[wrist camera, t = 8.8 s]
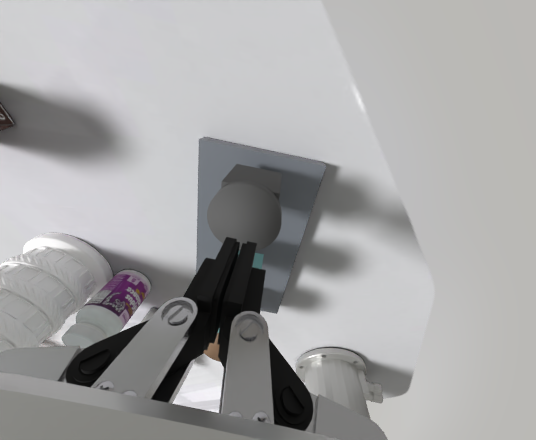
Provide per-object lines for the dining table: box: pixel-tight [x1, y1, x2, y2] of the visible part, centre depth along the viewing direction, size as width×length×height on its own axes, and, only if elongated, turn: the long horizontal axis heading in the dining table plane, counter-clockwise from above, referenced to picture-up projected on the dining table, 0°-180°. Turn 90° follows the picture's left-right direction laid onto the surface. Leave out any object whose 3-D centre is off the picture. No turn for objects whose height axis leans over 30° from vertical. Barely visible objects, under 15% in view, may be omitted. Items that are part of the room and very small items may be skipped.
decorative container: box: [0, 232, 113, 352], centre depth 23 cm, size 12×12×18 cm
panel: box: [196, 137, 326, 314], centre depth 23 cm, size 12×22×6 cm, turn 169°
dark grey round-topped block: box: [207, 164, 282, 251], centre depth 16 cm, size 5×5×6 cm
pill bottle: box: [62, 270, 151, 348], centre depth 27 cm, size 5×5×10 cm
